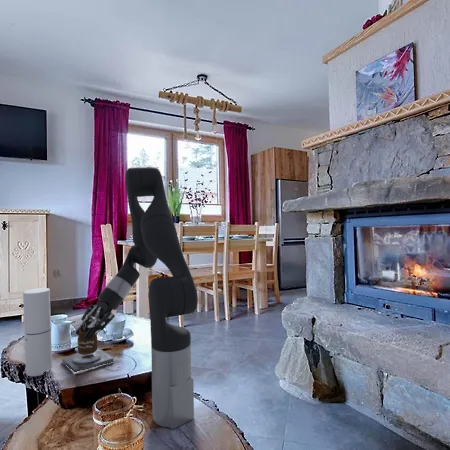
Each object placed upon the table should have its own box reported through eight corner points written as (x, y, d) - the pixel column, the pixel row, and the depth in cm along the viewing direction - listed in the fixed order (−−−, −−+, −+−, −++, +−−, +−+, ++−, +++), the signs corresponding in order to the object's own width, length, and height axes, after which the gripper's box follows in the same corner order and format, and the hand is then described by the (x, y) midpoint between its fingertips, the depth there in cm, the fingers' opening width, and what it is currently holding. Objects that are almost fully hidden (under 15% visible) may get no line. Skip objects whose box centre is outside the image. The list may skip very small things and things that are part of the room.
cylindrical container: (40, 377, 100) (38, 293, 99) (20, 375, 101) (17, 292, 100) (57, 366, 106) (54, 288, 106) (37, 364, 108) (35, 287, 107)
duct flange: (113, 362, 108) (113, 355, 108) (75, 375, 100) (74, 366, 100) (98, 351, 117) (98, 344, 117) (62, 362, 109) (62, 354, 109)
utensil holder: (81, 348, 111) (79, 312, 111) (100, 347, 112) (99, 311, 111) (75, 355, 105) (73, 318, 105) (95, 354, 106) (94, 317, 106)
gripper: (97, 283, 118) (63, 326, 110) (118, 289, 109) (83, 336, 100) (111, 295, 122) (80, 337, 114) (133, 302, 113) (100, 348, 104)
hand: (82, 336), depth 107 cm, fingers closed on utensil holder, 5 cm apart
